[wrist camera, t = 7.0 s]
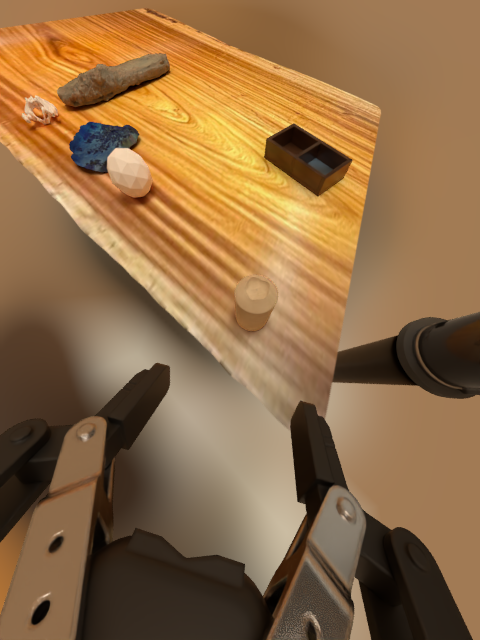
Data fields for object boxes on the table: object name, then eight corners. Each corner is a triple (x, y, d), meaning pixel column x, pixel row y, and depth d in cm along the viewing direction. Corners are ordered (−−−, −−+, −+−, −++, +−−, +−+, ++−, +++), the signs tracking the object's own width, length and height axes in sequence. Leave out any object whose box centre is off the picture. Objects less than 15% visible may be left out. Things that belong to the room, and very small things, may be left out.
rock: (145, 136, 46) (141, 126, 44) (104, 179, 41) (98, 169, 39) (100, 123, 48) (94, 113, 46) (56, 163, 43) (47, 153, 41)
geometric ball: (146, 197, 43) (143, 153, 38) (158, 204, 38) (155, 155, 34) (108, 191, 38) (99, 140, 34) (116, 197, 34) (107, 140, 29)
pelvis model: (14, 111, 43) (10, 93, 44) (33, 133, 47) (29, 116, 48) (49, 103, 44) (43, 86, 45) (65, 125, 48) (59, 109, 49)
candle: (231, 307, 31) (227, 275, 21) (259, 297, 31) (269, 262, 22) (242, 336, 29) (244, 315, 20) (272, 324, 30) (288, 299, 20)
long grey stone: (179, 80, 57) (162, 72, 60) (174, 51, 52) (155, 43, 55) (74, 114, 48) (59, 102, 50) (55, 82, 43) (39, 71, 45)
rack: (343, 177, 41) (352, 159, 38) (318, 196, 39) (325, 178, 36) (289, 142, 45) (293, 123, 42) (264, 157, 44) (266, 138, 40)
